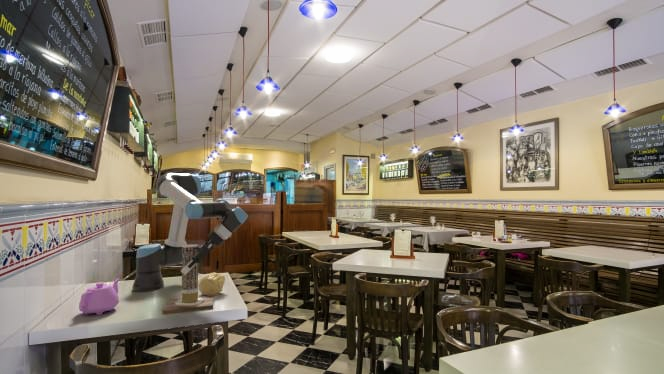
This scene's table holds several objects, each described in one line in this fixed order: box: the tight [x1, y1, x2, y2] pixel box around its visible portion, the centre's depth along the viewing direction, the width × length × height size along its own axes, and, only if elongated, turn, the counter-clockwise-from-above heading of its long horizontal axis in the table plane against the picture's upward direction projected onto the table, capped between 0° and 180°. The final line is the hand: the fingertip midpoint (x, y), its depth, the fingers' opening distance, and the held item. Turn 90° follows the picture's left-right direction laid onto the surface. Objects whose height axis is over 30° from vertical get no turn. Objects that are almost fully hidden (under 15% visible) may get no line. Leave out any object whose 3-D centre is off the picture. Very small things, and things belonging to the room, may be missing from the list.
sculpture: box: [198, 272, 226, 296], centre depth 172 cm, size 11×12×11 cm
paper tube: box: [181, 243, 199, 303], centre depth 154 cm, size 7×7×25 cm
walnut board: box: [161, 295, 215, 315], centre depth 153 cm, size 16×20×2 cm
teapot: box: [78, 277, 120, 316], centre depth 147 cm, size 20×14×12 cm
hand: (184, 270), depth 153 cm, fingers open, 13 cm apart
